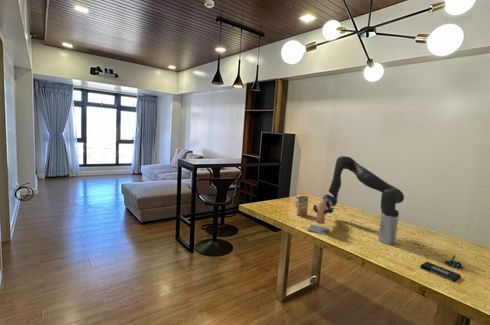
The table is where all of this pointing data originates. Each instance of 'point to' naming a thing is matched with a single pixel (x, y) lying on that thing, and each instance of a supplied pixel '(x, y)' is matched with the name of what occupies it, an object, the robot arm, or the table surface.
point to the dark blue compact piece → (454, 263)
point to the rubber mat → (318, 229)
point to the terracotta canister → (321, 212)
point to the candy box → (301, 205)
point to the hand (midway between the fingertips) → (320, 211)
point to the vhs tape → (440, 271)
